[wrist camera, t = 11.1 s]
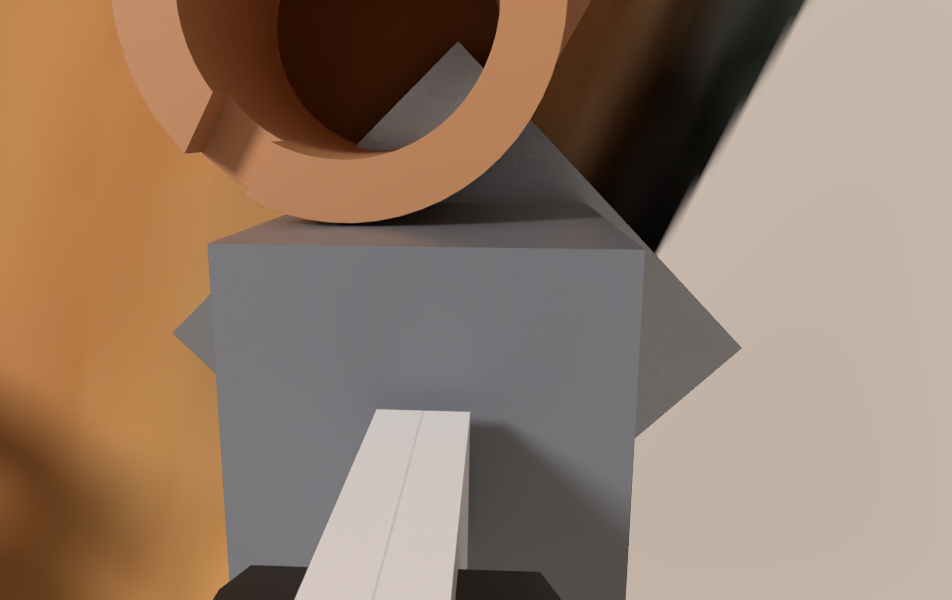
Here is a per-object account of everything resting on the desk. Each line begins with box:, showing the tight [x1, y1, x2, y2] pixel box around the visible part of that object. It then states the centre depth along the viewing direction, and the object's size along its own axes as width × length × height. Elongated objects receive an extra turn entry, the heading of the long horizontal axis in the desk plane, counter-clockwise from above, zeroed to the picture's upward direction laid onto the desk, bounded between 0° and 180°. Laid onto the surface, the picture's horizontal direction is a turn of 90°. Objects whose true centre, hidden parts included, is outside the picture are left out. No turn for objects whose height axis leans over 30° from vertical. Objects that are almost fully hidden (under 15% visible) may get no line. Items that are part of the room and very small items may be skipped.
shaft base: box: [173, 41, 741, 438], centre depth 19 cm, size 11×11×6 cm
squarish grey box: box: [208, 203, 645, 600], centre depth 17 cm, size 7×7×8 cm
